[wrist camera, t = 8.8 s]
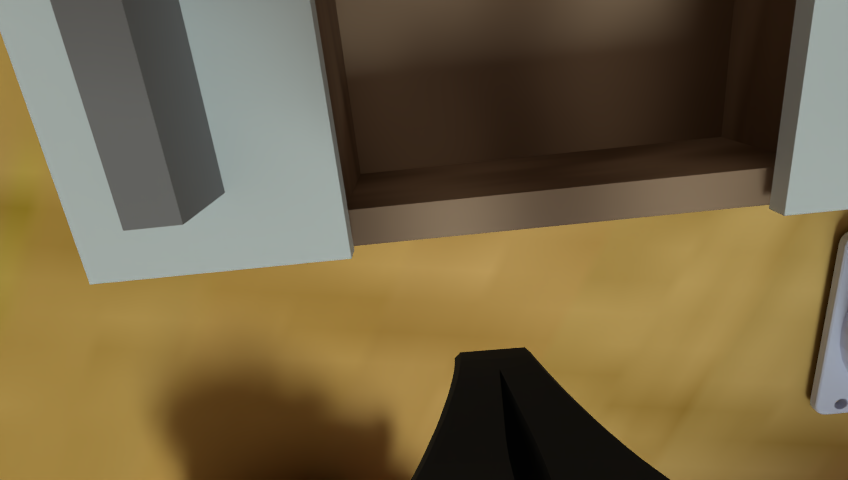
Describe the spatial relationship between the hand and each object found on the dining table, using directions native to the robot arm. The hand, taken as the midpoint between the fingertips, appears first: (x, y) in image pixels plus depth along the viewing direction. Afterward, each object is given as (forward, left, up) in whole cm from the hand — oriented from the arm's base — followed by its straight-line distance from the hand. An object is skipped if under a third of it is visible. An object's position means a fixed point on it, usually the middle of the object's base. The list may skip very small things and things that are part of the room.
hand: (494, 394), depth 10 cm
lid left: (+6, -8, -4) cm, 11 cm away
